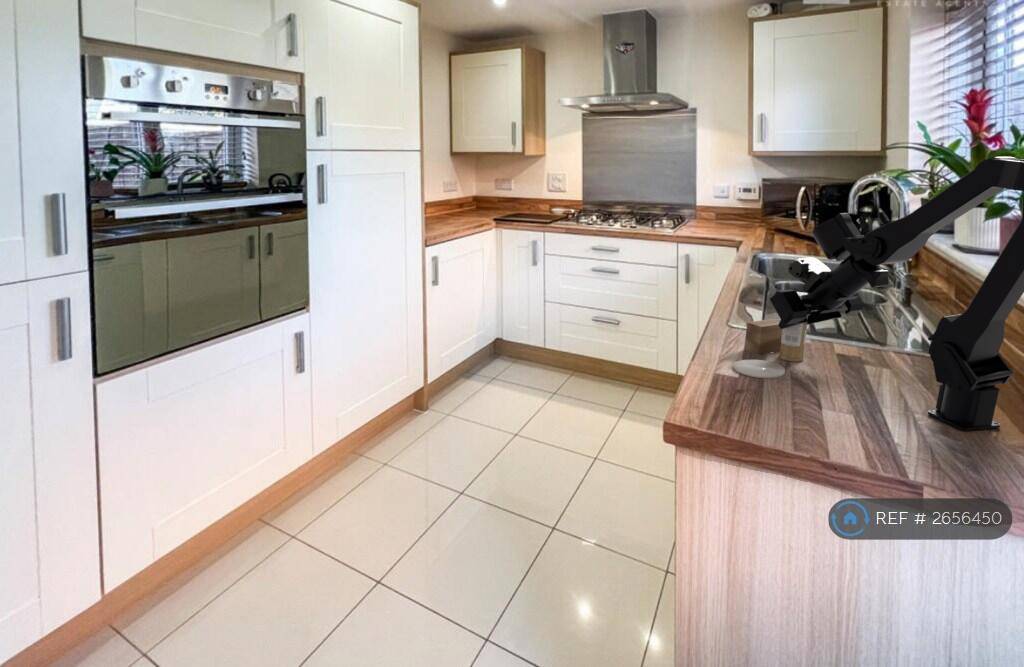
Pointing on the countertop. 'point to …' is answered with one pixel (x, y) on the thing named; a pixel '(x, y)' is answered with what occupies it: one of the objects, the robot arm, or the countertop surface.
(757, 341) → the walnut block
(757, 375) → the stone coaster
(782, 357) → the sprinkles bottle
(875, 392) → the countertop surface
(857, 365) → the countertop surface
